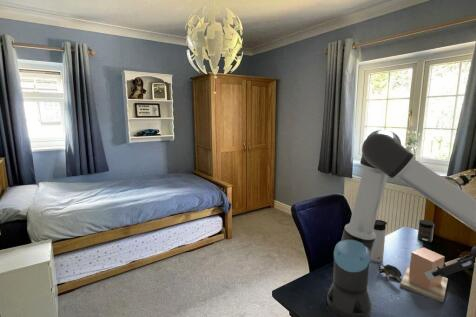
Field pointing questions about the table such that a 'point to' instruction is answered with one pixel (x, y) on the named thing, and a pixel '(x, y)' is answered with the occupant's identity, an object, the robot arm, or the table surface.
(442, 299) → the birch pad
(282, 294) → the table surface
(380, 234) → the travel mug
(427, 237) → the supplement container
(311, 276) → the table surface
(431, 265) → the peach squarish block
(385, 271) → the eagle figurine
